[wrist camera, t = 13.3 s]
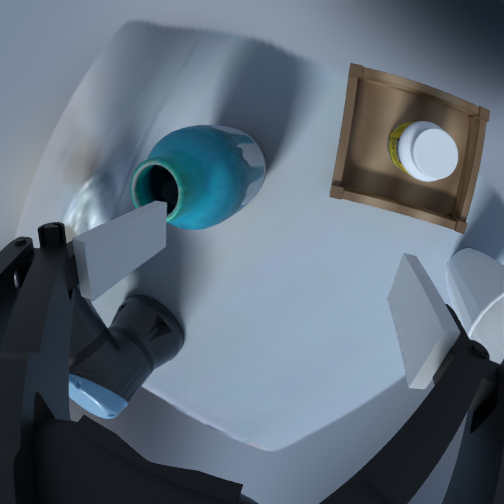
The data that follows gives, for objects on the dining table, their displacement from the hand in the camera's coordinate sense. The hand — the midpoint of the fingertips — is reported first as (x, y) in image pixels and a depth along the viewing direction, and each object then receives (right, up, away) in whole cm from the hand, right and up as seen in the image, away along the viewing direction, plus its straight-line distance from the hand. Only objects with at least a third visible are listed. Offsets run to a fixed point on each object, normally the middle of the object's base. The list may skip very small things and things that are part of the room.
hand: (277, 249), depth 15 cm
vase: (-3, +12, +23) cm, 26 cm away
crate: (+18, +13, +16) cm, 27 cm away
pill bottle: (+18, +13, +15) cm, 27 cm away
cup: (+30, -3, +19) cm, 36 cm away
